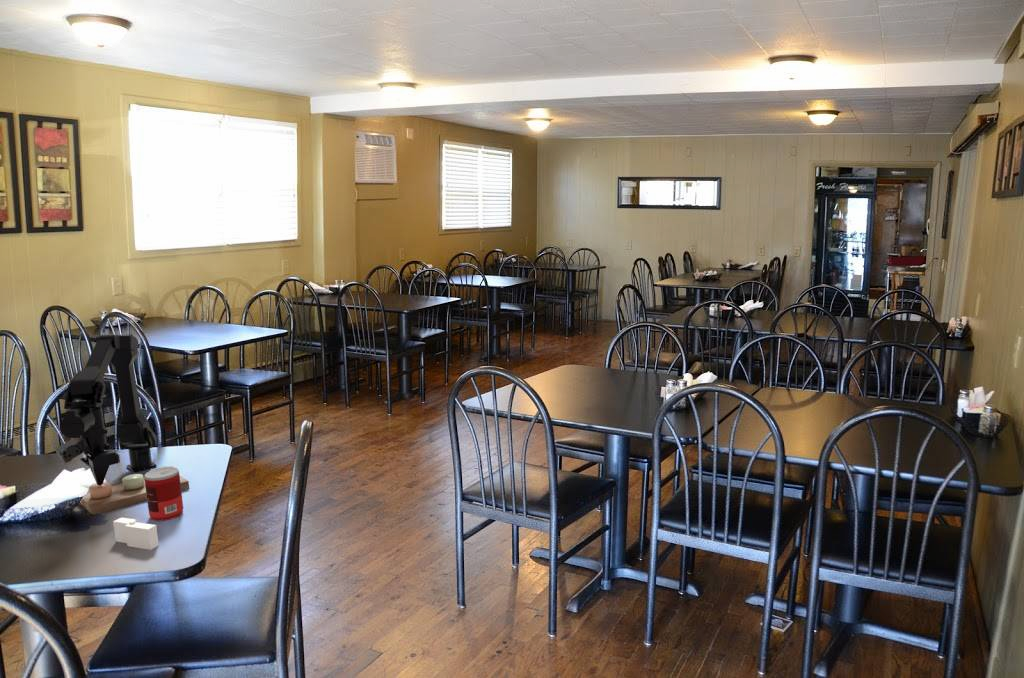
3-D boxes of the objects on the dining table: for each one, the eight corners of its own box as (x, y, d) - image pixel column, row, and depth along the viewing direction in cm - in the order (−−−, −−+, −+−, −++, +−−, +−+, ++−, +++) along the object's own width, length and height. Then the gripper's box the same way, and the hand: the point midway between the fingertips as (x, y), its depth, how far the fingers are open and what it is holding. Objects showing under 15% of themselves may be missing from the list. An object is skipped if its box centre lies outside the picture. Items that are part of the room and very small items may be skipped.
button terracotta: (88, 496, 208) (86, 485, 207) (108, 490, 211) (107, 480, 210) (93, 501, 204) (92, 490, 204) (114, 495, 207) (113, 485, 207)
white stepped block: (169, 549, 181) (166, 525, 180) (113, 563, 175) (110, 538, 174) (160, 526, 193) (157, 504, 192) (107, 538, 188) (104, 515, 187)
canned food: (189, 508, 203) (184, 466, 201) (173, 521, 195) (168, 478, 193) (160, 508, 204) (155, 466, 202) (143, 521, 196) (137, 478, 194)
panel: (78, 502, 210) (77, 495, 209) (172, 477, 225) (171, 470, 225) (92, 514, 201) (91, 507, 201) (189, 488, 217) (188, 481, 216)
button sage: (120, 487, 213) (119, 477, 212) (140, 482, 216) (139, 472, 216) (127, 492, 209) (125, 482, 209) (147, 487, 213) (145, 477, 212)
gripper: (46, 426, 205) (55, 484, 208) (66, 441, 192) (75, 503, 195) (93, 416, 213) (101, 473, 216) (116, 430, 199) (124, 490, 202)
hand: (99, 484), depth 207 cm, fingers closed
